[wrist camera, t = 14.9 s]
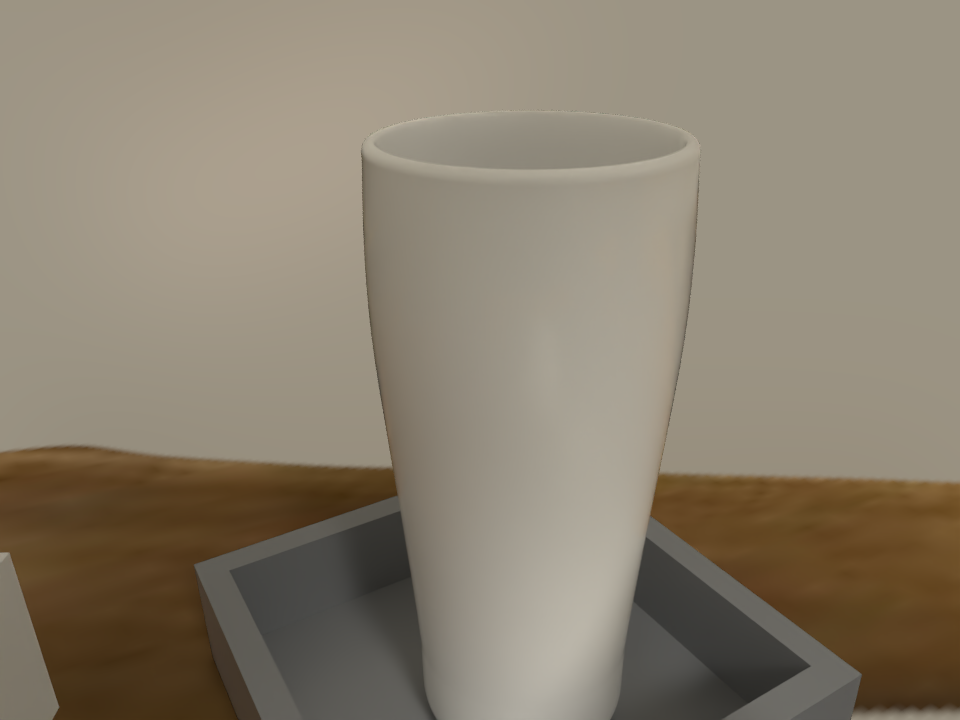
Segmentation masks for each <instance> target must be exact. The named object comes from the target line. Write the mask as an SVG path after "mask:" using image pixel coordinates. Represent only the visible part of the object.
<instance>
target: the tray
mask: <svg viewBox="0 0 960 720" xmlns="http://www.w3.org/2000/svg"><path fill="white" fill-rule="evenodd" d="M194 569H195V573H196V578H197V583H198V588H199V593H200V598H201V603H202V607H203V612H204V617H205V622H206V627H207V632H208V637H209V641H210V646H211V651H212V656H213V659H214V661H215V664H216V666H217V669H218V671H219V673H220V676H221V678H222V681H223V683H224V686H225V688H226V691H227V693H228V696H229V698H230V701H231V703H232V705H233V708H234V710H235V713H236V715H237V718H238V720H437V719H436V718H435V716H434V714H433V712H432V710H431V708H430V706H429V703H428V700H427V697H426V694H425V688H424V682H423V668H422V651H421V638H420V631H419V624H418V618H417V611H416V605H415V599H414V592H413V586H412V580H411V574H410V567H409V561H408V555H407V549H406V543H405V537H404V531H403V525H402V519H401V513H400V507H399V501H398V496H395V497H392V498H389V499H386V500H383V501H380V502H377V503H374V504H371V505H368V506H365V507H362V508H359V509H356V510H353V511H350V512H348V513H345V514H342V515H339V516H336V517H333V518H330V519H327V520H324V521H321V522H318V523H315V524H312V525H309V526H306V527H303V528H300V529H297V530H294V531H292V532H289V533H286V534H283V535H280V536H277V537H274V538H271V539H268V540H265V541H262V542H259V543H256V544H253V545H250V546H247V547H244V548H241V549H238V550H236V551H233V552H230V553H227V554H224V555H221V556H218V557H215V558H212V559H209V560H206V561H203V562H200V563H197V564H194ZM861 676H862V674H861V673H859V672H858V671H857V670H855V669H854V668H853V667H851V666H850V665H849V664H847V663H846V662H845V661H843V660H842V659H841V658H839V657H838V656H837V655H835V654H834V653H833V652H831V651H830V650H829V649H827V648H826V647H825V646H823V645H822V644H821V643H819V642H818V641H817V640H815V639H814V638H813V637H811V636H810V635H809V634H807V633H806V632H805V631H803V630H802V629H801V628H799V627H798V626H797V625H795V624H794V623H793V622H791V621H790V620H789V619H787V618H786V617H785V616H783V615H782V614H781V613H779V612H778V611H777V610H775V609H774V608H773V607H771V606H770V605H769V604H767V603H766V602H765V601H763V600H762V599H761V598H759V597H758V596H757V595H755V594H754V593H753V592H751V591H750V590H749V589H747V588H746V587H745V586H743V585H742V584H741V583H739V582H738V581H737V580H735V579H734V578H733V577H731V576H730V575H729V574H727V573H726V572H725V571H723V570H722V569H721V568H719V567H718V566H717V565H715V564H714V563H713V562H711V561H710V560H709V559H707V558H706V557H705V556H703V555H702V554H701V553H699V552H698V551H697V550H695V549H694V548H693V547H691V546H690V545H689V544H687V543H686V542H685V541H683V540H682V539H681V538H679V537H678V536H677V535H675V534H674V533H673V532H671V531H670V530H669V529H667V528H666V527H665V526H663V525H662V524H661V523H659V522H658V521H656V520H655V519H654V518H652V517H651V516H650V519H649V524H648V529H647V534H646V539H645V544H644V549H643V554H642V559H641V565H640V570H639V575H638V580H637V585H636V590H635V595H634V601H633V606H632V611H631V617H630V622H629V627H628V633H627V638H626V644H625V653H624V665H623V676H622V686H621V692H620V697H619V701H618V704H617V707H616V710H615V712H614V714H613V716H612V718H611V720H851V717H852V713H853V708H854V704H855V700H856V696H857V692H858V688H859V684H860V680H861Z"/></svg>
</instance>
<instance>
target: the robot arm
mask: <svg viewBox="0 0 960 720" xmlns="http://www.w3.org/2000/svg"><path fill="white" fill-rule="evenodd" d="M58 708H59V706H58V702H57V699H56V696H55V693H54V690H53V687H52V684H51V681H50V678H49V674H48V671H47V668H46V665H45V662H44V659H43V656H42V653H41V650H40V647H39V643H38V640H37V637H36V634H35V631H34V628H33V625H32V622H31V619H30V615H29V612H28V609H27V606H26V603H25V600H24V597H23V594H22V591H21V588H20V584H19V581H18V578H17V575H16V572H15V569H14V566H13V563H12V560H11V556H10V553H0V720H52V719H53V717H54V716H55V714H56V712H57V710H58Z"/></svg>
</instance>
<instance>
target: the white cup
mask: <svg viewBox="0 0 960 720" xmlns="http://www.w3.org/2000/svg"><path fill="white" fill-rule="evenodd" d="M700 156H701V147H700V143H699V141H698V140H697V139H696V138H695V136H693V135H692V134H691V133H689V132H688V131H686V130H684V129H681V128H679V127H676V126H673V125H670V124H667V123H663V122H659V121H654V120H649V119H644V118H638V117H631V116H624V115H616V114H615V115H614V114H606V113H595V112H578V111H554V110H515V111H514V110H513V111H512V110H510V111H486V112H470V113H459V114H449V115H440V116H433V117H426V118H420V119H415V120H410V121H405V122H401V123H397V124H394V125H390V126H387V127H384V128H382V129H379V130H377V131H375V132H374V133H372V134H370V135H369V136H368V137H367V138H366V139H365V140H364V142H363V144H362V148H361V157H362V201H363V233H364V234H363V235H364V255H365V271H366V285H367V295H368V308H369V317H370V326H371V335H372V342H373V349H374V357H375V364H376V370H377V376H378V382H379V389H380V395H381V401H382V406H383V413H384V419H385V425H386V431H387V436H388V442H389V448H390V454H391V460H392V466H393V471H394V477H395V483H396V489H397V495H398V501H399V507H400V513H401V519H402V525H403V531H404V537H405V543H406V549H407V555H408V561H409V567H410V574H411V580H412V586H413V592H414V599H415V605H416V611H417V618H418V624H419V631H420V638H421V651H422V668H423V682H424V688H425V694H426V697H427V700H428V703H429V706H430V708H431V710H432V712H433V714H434V716H435V718H436V719H437V720H611V718H612V716H613V714H614V712H615V710H616V707H617V704H618V701H619V697H620V692H621V686H622V676H623V665H624V653H625V644H626V638H627V633H628V627H629V622H630V617H631V611H632V606H633V601H634V595H635V590H636V585H637V580H638V575H639V570H640V565H641V559H642V554H643V549H644V544H645V539H646V534H647V529H648V524H649V519H650V514H651V509H652V504H653V499H654V494H655V489H656V484H657V480H658V475H659V470H660V465H661V460H662V455H663V450H664V445H665V440H666V435H667V430H668V426H669V420H670V415H671V411H672V406H673V401H674V395H675V390H676V385H677V380H678V375H679V369H680V363H681V358H682V352H683V346H684V340H685V332H686V326H687V319H688V311H689V304H690V295H691V287H692V277H693V266H694V256H695V243H696V229H697V212H698V192H699V168H700Z"/></svg>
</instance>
